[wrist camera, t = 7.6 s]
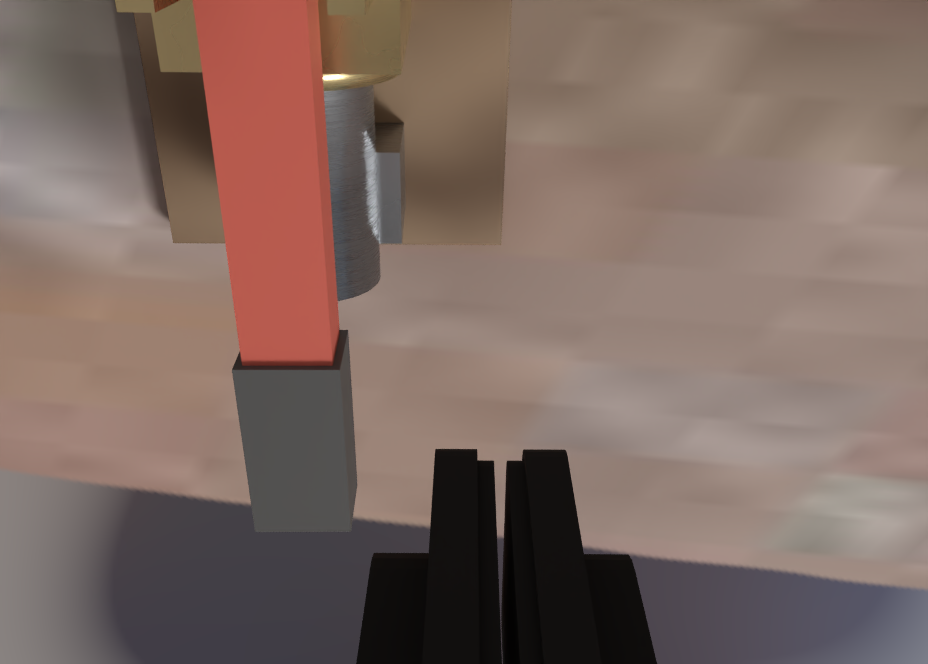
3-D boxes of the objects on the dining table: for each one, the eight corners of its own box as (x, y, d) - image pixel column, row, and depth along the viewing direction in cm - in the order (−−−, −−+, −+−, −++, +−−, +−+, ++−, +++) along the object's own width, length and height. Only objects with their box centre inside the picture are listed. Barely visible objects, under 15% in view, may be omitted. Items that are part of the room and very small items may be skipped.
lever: (190, -140, 16) (157, -143, 14) (320, -138, 16) (305, -140, 14) (269, 481, 24) (254, 534, 22) (357, 481, 24) (350, 534, 22)
